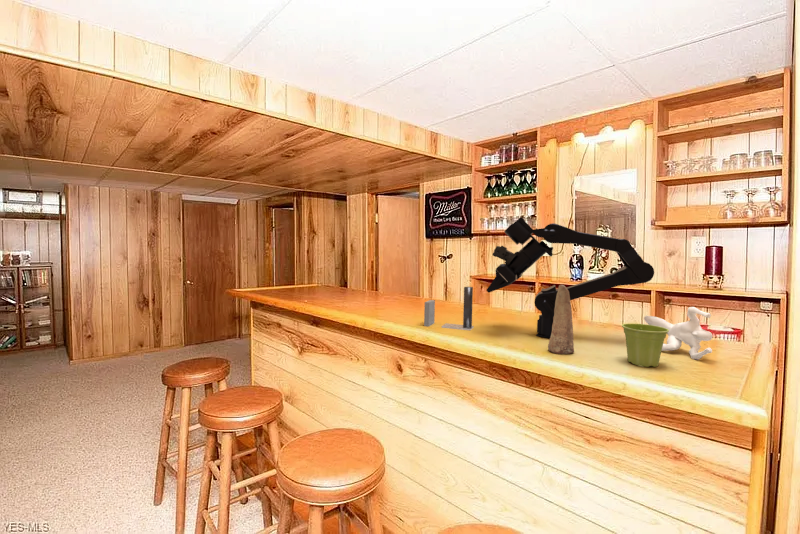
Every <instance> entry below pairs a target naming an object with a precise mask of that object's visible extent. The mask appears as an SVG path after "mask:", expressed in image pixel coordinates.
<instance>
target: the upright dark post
mask: <svg viewBox="0 0 800 534" xmlns="http://www.w3.org/2000/svg"><path fill="white" fill-rule="evenodd" d="M473 288H474V287H473V286H463V312H462V313H463V314H462V318H463V320H462V324H459V323H458V324H456V323H447V322H446V323H444V324H442V325H441V329H452V330H461V331H462V330H463V331H471V330H472V329H474V328H475V327H474V325H473V295H474V292H473V291H474V289H473Z"/></svg>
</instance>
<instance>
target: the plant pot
mask: <svg viewBox="0 0 800 534" xmlns="http://www.w3.org/2000/svg"><path fill="white" fill-rule="evenodd" d="M621 328H622V329H623V333H624V338H625V344H626V354H627V355H626V356H627V362H629V363H632V365H634V366H635V365H636V366H639V367H640V366H641V367H645V368H646V367H647V368H649V367H654V368H655V367H658V366H659V364H660V359H661V354H662V346H663V343H664V342H665V339H666V337H667V335H668V334H667V333H668V332H669V330H668V329H666V328H663V327H659V326H654V325H648V323H622V324H621Z"/></svg>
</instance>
